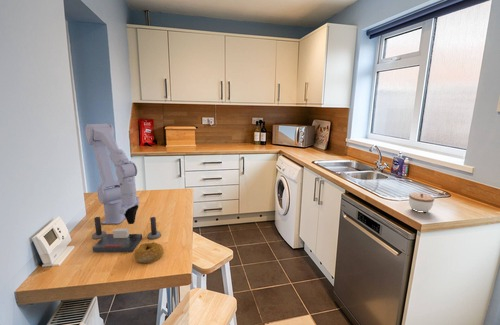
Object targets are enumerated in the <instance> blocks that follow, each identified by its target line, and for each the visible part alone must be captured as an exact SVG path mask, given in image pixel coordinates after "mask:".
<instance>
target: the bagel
mask: <svg viewBox="0 0 500 325" xmlns="http://www.w3.org/2000/svg"><path fill="white" fill-rule="evenodd" d="M137 247H138V248H135V249H134V250H135V251H134V254H133V255H134V260H135V262H137V263H140V264H142V263H143V264H151V263H152V264H153V263H155V262H156V261H159V260H160V259H161V258H162V257H163V255H164V247H163V245H162V244H160V243H158V242H155V241H154V242H146V243H141V244H140V246H137Z"/></svg>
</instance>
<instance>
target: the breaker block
mask: <svg viewBox="0 0 500 325" xmlns="http://www.w3.org/2000/svg"><path fill="white" fill-rule="evenodd" d="M142 240H143V234H142V233H129V236H128V237H127V238H114V237H113V233H106V235H105V236H104V237H103V238H102V239H99V241H97V243H95V244H94V245H93V246H92V253H133V252H135V251H134V250H136V249H137V247H138V245H139V244H140V243H141V242H142Z"/></svg>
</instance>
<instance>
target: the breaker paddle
mask: <svg viewBox="0 0 500 325" xmlns="http://www.w3.org/2000/svg"><path fill="white" fill-rule="evenodd" d="M112 234H113V237H114V238H127V237H128V236H129V234H130V232H129V228H114V229H113V230H112Z"/></svg>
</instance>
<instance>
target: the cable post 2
mask: <svg viewBox="0 0 500 325" xmlns="http://www.w3.org/2000/svg"><path fill="white" fill-rule="evenodd" d="M149 221H150V230H151V231H150V232H149V233H147V238H148V239H149V240H157V239H159V238H160V237H161V236H162V234H161V231H159V230H157V218H156V216H152V217H151V216H150V219H149Z"/></svg>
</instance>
